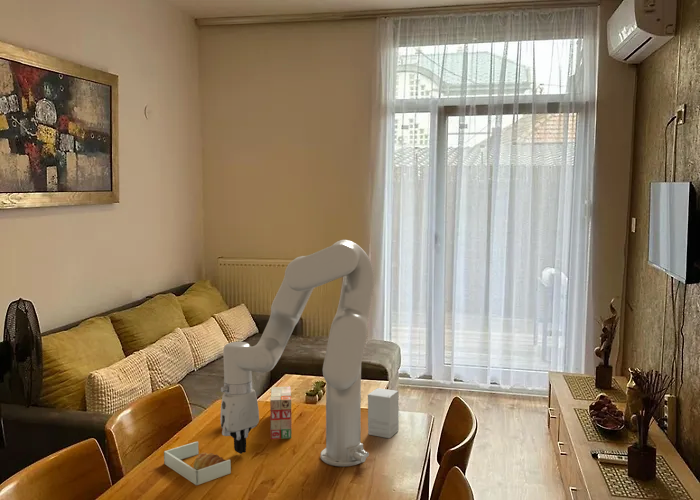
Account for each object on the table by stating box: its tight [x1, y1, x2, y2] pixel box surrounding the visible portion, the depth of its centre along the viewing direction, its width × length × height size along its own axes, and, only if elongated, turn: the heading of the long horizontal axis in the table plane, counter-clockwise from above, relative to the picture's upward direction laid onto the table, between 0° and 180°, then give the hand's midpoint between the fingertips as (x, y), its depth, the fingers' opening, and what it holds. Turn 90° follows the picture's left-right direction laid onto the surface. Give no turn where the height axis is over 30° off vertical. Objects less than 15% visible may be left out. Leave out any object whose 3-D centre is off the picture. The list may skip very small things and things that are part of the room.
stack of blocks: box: [269, 385, 293, 440], centre depth 197 cm, size 21×6×12 cm, turn 6°
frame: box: [163, 441, 232, 486], centre depth 167 cm, size 17×10×4 cm, turn 43°
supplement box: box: [367, 387, 400, 439], centre depth 191 cm, size 7×7×13 cm
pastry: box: [193, 452, 227, 470], centre depth 167 cm, size 9×7×4 cm
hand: (240, 451), depth 175 cm, fingers closed
